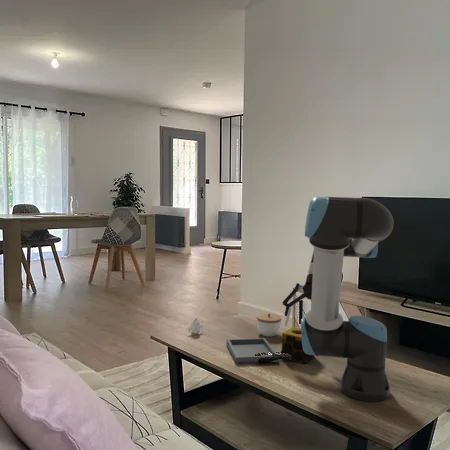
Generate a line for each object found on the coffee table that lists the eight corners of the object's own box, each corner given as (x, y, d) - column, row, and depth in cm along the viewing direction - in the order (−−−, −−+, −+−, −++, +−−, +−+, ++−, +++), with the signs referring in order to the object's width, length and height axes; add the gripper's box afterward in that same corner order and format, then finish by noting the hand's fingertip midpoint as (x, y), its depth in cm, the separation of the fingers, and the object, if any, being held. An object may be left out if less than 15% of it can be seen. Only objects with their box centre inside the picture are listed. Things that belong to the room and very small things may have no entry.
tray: (278, 362, 165) (278, 355, 165) (235, 364, 162) (236, 357, 162) (264, 343, 184) (264, 337, 184) (226, 345, 182) (226, 339, 181)
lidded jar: (281, 338, 192) (282, 317, 191) (257, 337, 192) (257, 316, 191) (279, 330, 202) (280, 310, 202) (255, 330, 202) (256, 309, 202)
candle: (305, 365, 163) (306, 338, 162) (280, 358, 169) (281, 333, 168) (315, 356, 172) (316, 331, 171) (291, 351, 177) (292, 326, 176)
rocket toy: (200, 336, 192) (200, 318, 192) (188, 335, 193) (188, 317, 193) (203, 332, 198) (203, 314, 197) (191, 331, 199) (191, 313, 198)
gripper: (349, 286, 171) (336, 341, 165) (285, 270, 177) (271, 322, 171) (351, 282, 164) (338, 339, 158) (285, 265, 170) (270, 319, 164)
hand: (303, 330), depth 164 cm, fingers open, 13 cm apart
